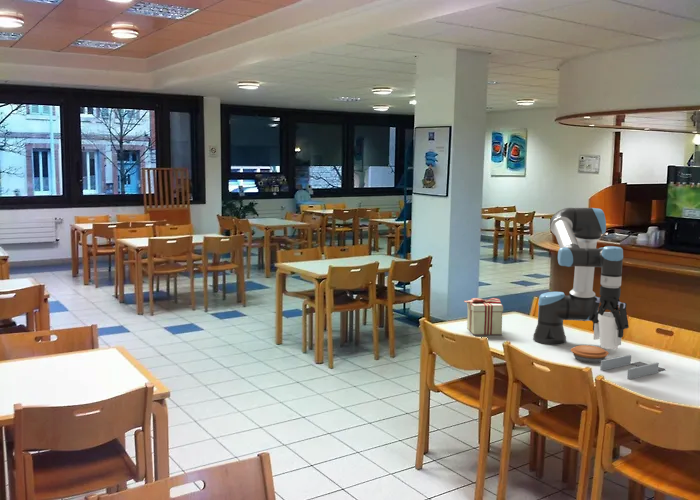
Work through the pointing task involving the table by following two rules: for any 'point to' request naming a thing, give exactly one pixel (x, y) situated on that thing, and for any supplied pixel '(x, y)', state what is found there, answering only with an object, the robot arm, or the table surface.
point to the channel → (632, 372)
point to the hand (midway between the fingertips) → (607, 342)
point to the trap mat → (645, 364)
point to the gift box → (484, 316)
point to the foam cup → (607, 330)
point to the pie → (589, 353)
